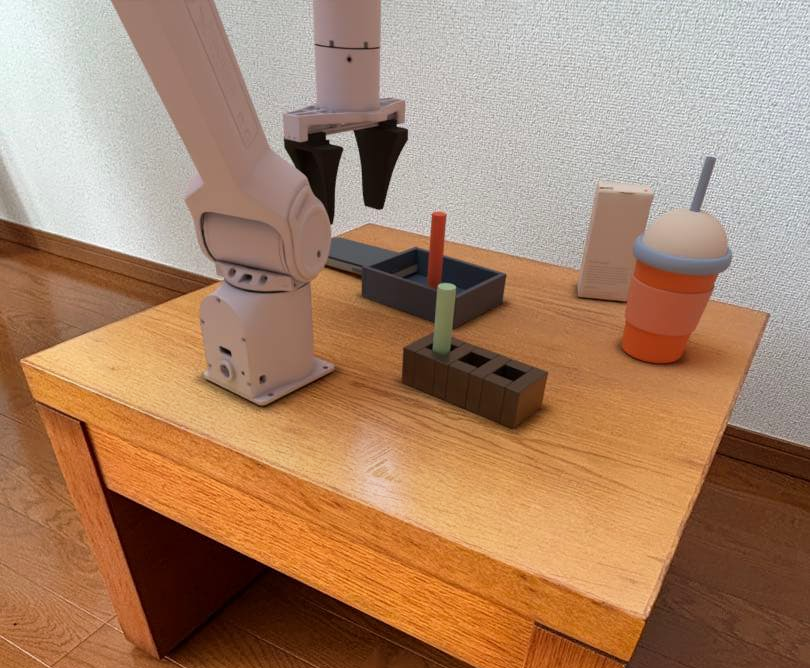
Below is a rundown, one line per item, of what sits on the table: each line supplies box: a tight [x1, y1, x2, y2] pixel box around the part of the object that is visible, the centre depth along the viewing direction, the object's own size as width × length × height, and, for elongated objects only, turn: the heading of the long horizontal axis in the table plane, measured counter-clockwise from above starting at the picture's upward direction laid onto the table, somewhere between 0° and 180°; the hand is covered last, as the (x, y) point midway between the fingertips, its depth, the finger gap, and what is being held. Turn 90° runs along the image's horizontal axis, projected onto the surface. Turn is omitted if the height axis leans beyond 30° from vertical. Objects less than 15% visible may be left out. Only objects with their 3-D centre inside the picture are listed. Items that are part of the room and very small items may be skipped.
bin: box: [361, 246, 507, 330], centre depth 76 cm, size 13×10×3 cm
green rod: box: [433, 283, 456, 355], centre depth 59 cm, size 2×2×9 cm
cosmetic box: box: [576, 180, 655, 302], centre depth 77 cm, size 6×4×12 cm
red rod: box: [427, 211, 448, 289], centre depth 74 cm, size 2×2×9 cm
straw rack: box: [401, 331, 549, 429], centre depth 59 cm, size 12×5×4 cm, turn 52°
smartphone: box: [325, 236, 417, 278], centre depth 84 cm, size 8×2×15 cm
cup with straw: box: [621, 156, 733, 364], centre depth 63 cm, size 9×9×18 cm
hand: (349, 215), depth 66 cm, fingers open, 7 cm apart
